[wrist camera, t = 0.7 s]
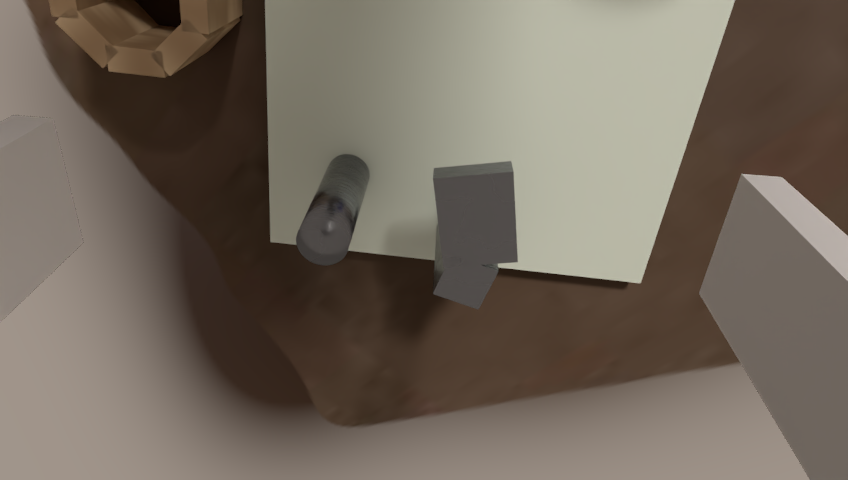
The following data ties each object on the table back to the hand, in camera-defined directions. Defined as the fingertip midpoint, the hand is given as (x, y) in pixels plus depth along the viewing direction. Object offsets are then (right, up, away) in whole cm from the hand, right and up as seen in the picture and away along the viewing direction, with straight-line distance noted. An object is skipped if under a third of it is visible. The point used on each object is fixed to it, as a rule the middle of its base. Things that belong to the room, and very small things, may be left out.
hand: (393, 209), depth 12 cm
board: (+4, +7, +21) cm, 23 cm away
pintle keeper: (0, +4, +23) cm, 24 cm away
